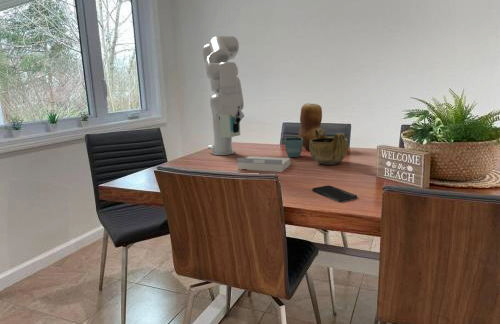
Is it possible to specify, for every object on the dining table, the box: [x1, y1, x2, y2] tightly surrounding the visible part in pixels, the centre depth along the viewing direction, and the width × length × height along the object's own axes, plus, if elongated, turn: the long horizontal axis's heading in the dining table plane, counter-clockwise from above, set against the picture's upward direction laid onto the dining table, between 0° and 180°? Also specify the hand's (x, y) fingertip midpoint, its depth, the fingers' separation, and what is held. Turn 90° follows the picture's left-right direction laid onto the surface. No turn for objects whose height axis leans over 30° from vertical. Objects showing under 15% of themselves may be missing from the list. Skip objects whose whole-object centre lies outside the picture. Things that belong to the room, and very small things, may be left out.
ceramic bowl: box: [308, 128, 349, 166], centre depth 162 cm, size 22×17×15 cm
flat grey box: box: [237, 155, 291, 173], centre depth 160 cm, size 20×14×5 cm
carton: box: [220, 114, 241, 138], centre depth 162 cm, size 5×8×10 cm, turn 146°
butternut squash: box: [297, 102, 323, 151], centre depth 196 cm, size 14×13×25 cm
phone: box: [311, 185, 358, 203], centre depth 119 cm, size 8×1×15 cm
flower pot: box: [284, 137, 303, 158], centre depth 180 cm, size 9×9×9 cm
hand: (230, 131), depth 163 cm, fingers closed on carton, 5 cm apart
